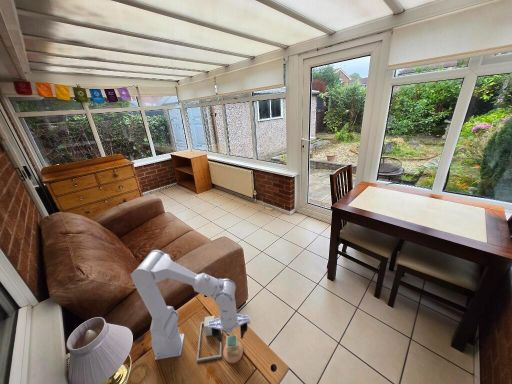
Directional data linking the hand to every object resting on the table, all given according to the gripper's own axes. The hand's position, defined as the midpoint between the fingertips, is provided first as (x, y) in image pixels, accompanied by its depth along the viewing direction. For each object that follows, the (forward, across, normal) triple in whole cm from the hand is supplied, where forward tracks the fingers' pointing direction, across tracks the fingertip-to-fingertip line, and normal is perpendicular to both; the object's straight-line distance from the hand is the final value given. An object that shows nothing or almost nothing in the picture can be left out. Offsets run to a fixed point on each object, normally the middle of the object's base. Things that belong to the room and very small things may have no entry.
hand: (231, 337), depth 75 cm
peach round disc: (+8, 0, 0) cm, 9 cm away
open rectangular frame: (+9, -9, +6) cm, 14 cm away
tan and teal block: (+8, 0, 0) cm, 8 cm away
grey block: (+9, -9, +10) cm, 16 cm away
